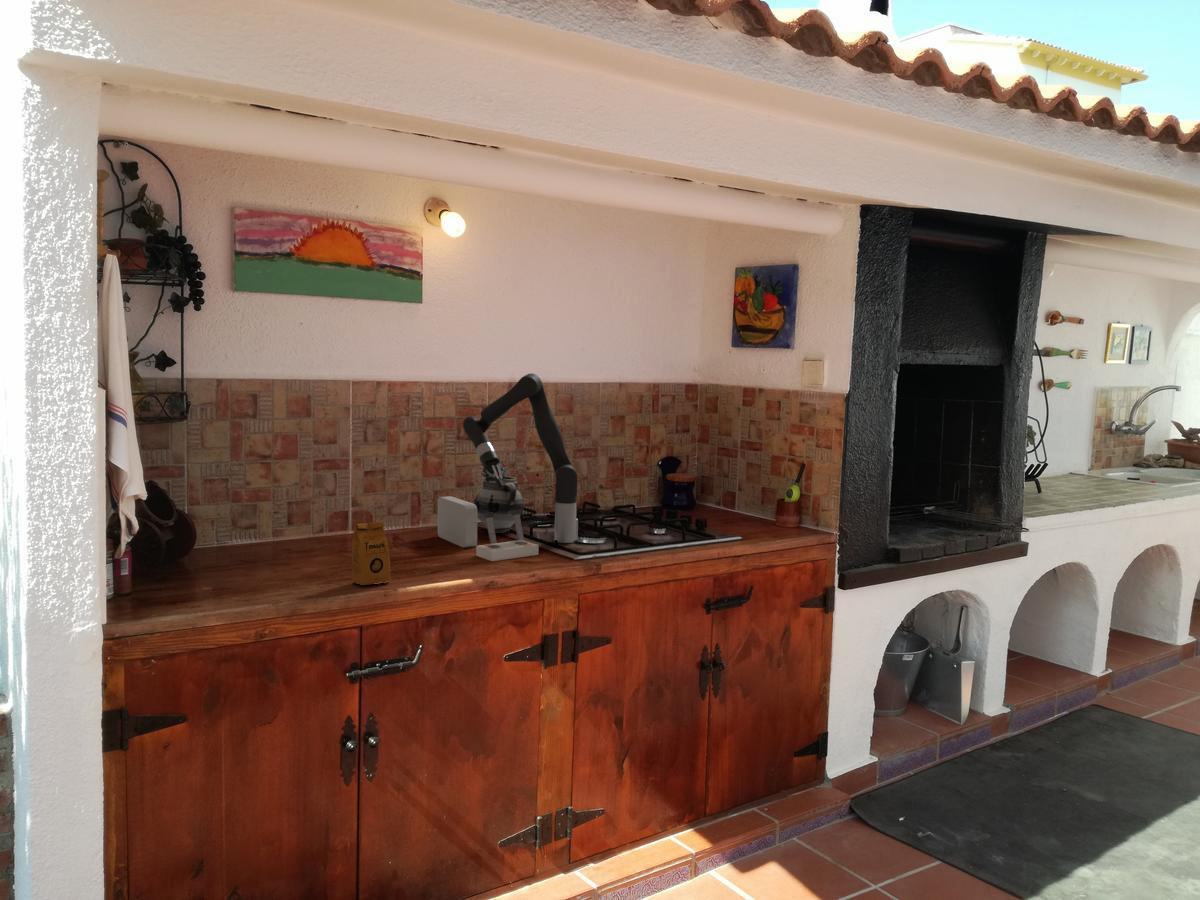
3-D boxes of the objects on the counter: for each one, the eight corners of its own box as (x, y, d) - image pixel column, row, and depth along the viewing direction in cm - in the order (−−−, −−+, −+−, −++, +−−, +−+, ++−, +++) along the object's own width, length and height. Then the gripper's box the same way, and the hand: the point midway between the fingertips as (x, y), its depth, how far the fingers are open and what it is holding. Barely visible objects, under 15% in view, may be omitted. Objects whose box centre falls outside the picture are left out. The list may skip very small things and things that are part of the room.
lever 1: (495, 543, 387) (489, 513, 389) (498, 542, 385) (493, 511, 387) (488, 544, 385) (483, 513, 387) (492, 543, 383) (486, 512, 385)
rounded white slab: (482, 546, 405) (482, 504, 403) (465, 548, 400) (465, 505, 398) (453, 535, 428) (453, 494, 426) (437, 536, 424) (437, 496, 422)
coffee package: (393, 584, 339) (393, 523, 336) (358, 589, 332) (358, 526, 330) (383, 578, 347) (382, 518, 345) (349, 582, 340) (348, 521, 338)
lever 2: (522, 540, 395) (516, 510, 397) (525, 539, 393) (520, 509, 395) (516, 541, 393) (510, 511, 395) (519, 539, 391) (514, 509, 393)
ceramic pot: (461, 527, 445) (462, 474, 442) (505, 523, 458) (505, 471, 455) (491, 538, 421) (492, 482, 419) (536, 533, 434) (537, 479, 432)
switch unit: (522, 549, 401) (522, 538, 401) (538, 554, 392) (538, 543, 391) (476, 555, 388) (476, 544, 387) (492, 561, 378) (492, 550, 378)
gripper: (477, 450, 406) (492, 483, 397) (504, 449, 414) (519, 481, 405) (470, 461, 410) (485, 494, 402) (497, 460, 418) (512, 491, 410)
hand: (502, 487), depth 404 cm, fingers closed
